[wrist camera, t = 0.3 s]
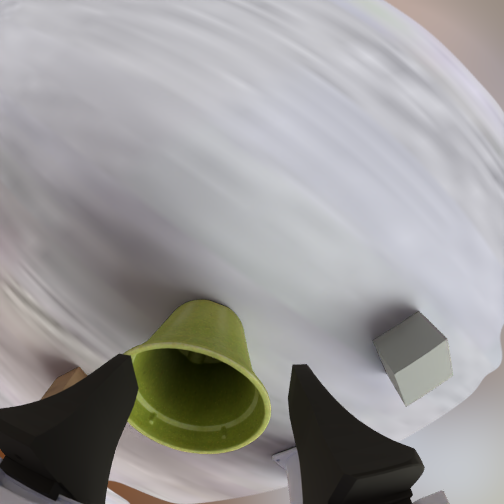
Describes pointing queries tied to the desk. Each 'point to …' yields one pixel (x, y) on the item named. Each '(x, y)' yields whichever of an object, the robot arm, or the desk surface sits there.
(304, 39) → the desk surface
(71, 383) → the walnut block
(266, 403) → the plant pot
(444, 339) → the slate block
